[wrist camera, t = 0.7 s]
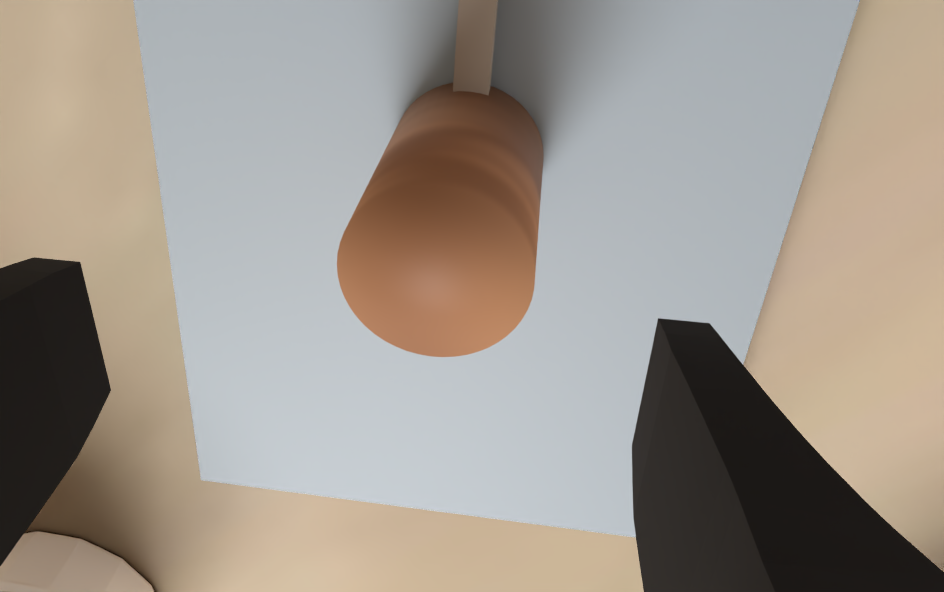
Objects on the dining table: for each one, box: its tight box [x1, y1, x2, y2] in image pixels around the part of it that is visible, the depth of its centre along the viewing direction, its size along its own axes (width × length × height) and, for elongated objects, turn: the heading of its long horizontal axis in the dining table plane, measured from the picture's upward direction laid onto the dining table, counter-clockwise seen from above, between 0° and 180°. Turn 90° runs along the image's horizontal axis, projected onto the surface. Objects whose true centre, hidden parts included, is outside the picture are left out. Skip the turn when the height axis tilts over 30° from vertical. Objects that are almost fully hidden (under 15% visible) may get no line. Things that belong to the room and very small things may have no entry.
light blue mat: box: [133, 0, 860, 537], centre depth 16 cm, size 14×27×4 cm, turn 176°
